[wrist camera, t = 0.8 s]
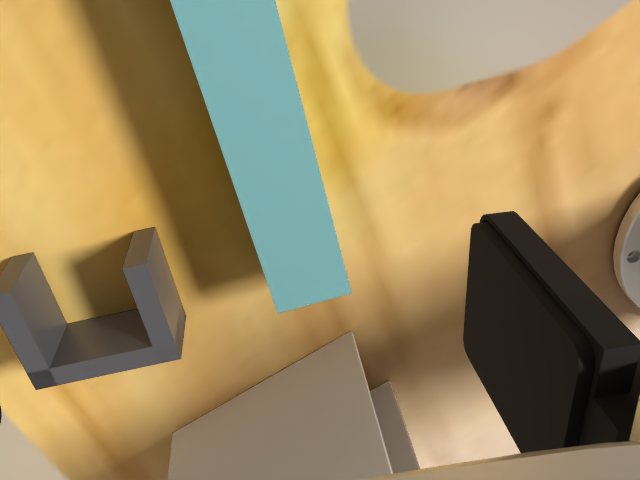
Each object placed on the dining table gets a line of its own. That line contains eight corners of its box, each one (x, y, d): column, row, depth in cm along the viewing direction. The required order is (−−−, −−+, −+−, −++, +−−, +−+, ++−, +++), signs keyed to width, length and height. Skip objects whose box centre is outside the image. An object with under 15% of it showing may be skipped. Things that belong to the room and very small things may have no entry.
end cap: (155, 226, 33) (146, 263, 30) (185, 316, 37) (181, 358, 33) (11, 256, 33) (-15, 297, 30) (54, 344, 36) (35, 390, 33)
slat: (220, -196, 25) (218, -218, 21) (337, 246, 36) (351, 293, 32) (127, -170, 25) (105, -187, 21) (272, 264, 36) (277, 313, 32)
